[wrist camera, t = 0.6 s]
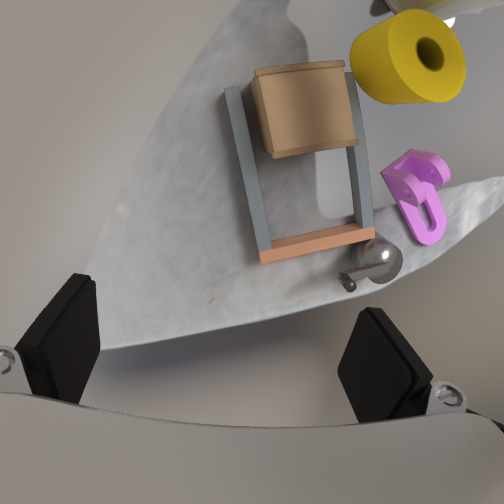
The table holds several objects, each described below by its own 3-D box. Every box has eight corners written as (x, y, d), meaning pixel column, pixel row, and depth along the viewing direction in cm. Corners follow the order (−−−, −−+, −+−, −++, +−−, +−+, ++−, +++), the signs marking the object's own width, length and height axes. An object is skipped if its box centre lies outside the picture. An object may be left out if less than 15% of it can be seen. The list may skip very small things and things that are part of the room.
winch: (383, 227, 39) (414, 249, 32) (384, 262, 41) (413, 288, 34) (322, 241, 39) (344, 267, 32) (326, 277, 41) (347, 308, 34)
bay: (344, 75, 32) (353, 72, 30) (366, 231, 39) (375, 237, 37) (224, 91, 32) (224, 88, 29) (259, 256, 39) (261, 264, 37)
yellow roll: (431, 80, 33) (478, 75, 24) (383, 119, 34) (427, 120, 26) (387, 17, 29) (428, -4, 20) (333, 52, 31) (367, 32, 22)
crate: (320, 71, 32) (343, 60, 25) (334, 141, 35) (359, 144, 28) (247, 81, 32) (255, 69, 25) (263, 153, 35) (273, 159, 28)
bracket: (379, 172, 37) (409, 182, 30) (410, 149, 36) (443, 155, 30) (418, 249, 41) (446, 269, 35) (445, 226, 41) (475, 242, 34)
